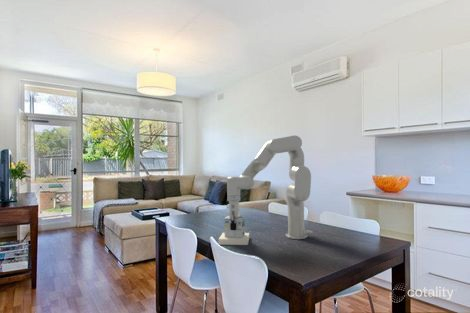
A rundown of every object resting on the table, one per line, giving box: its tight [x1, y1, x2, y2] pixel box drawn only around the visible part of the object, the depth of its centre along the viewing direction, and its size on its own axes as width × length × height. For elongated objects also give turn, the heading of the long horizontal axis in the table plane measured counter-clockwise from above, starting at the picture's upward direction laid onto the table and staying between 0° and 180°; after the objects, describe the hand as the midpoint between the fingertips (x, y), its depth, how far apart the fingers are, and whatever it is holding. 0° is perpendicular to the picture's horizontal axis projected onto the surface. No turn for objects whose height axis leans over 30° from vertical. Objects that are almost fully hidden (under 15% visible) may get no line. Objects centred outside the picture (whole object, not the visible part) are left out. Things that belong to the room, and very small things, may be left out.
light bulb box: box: [223, 215, 246, 238], centre depth 157 cm, size 11×7×11 cm, turn 76°
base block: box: [218, 232, 250, 246], centre depth 157 cm, size 16×14×3 cm
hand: (234, 227), depth 157 cm, fingers open, 9 cm apart
